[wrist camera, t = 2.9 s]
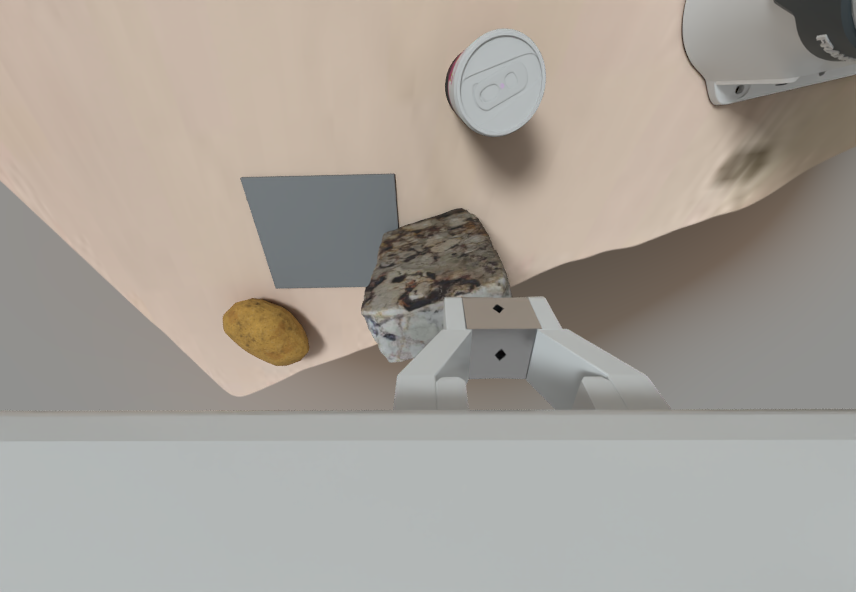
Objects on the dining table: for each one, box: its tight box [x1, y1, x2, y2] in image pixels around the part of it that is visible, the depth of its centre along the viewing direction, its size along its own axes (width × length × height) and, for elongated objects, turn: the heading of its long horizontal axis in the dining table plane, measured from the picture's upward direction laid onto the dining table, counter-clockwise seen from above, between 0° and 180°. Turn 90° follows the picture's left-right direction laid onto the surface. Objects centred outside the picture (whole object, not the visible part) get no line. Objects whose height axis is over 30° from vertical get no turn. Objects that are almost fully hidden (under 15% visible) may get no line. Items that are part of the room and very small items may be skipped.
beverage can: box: [445, 29, 546, 137], centre depth 29 cm, size 6×7×15 cm
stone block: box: [361, 208, 512, 362], centre depth 36 cm, size 13×7×20 cm, turn 112°
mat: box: [240, 174, 398, 288], centre depth 45 cm, size 19×16×1 cm
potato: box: [223, 298, 309, 366], centre depth 50 cm, size 9×13×7 cm
